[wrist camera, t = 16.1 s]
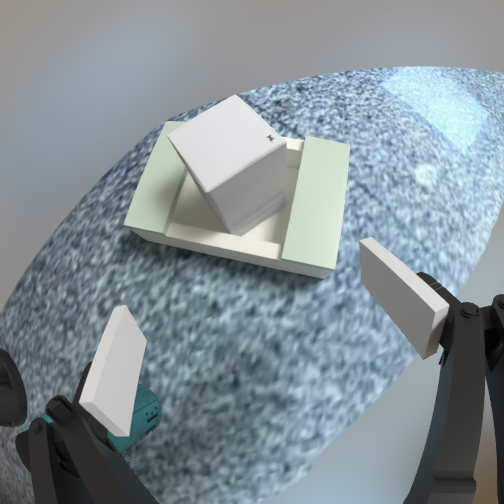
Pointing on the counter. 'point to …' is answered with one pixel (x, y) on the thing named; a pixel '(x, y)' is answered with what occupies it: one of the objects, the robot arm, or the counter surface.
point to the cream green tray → (264, 234)
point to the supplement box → (234, 163)
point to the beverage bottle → (141, 423)
